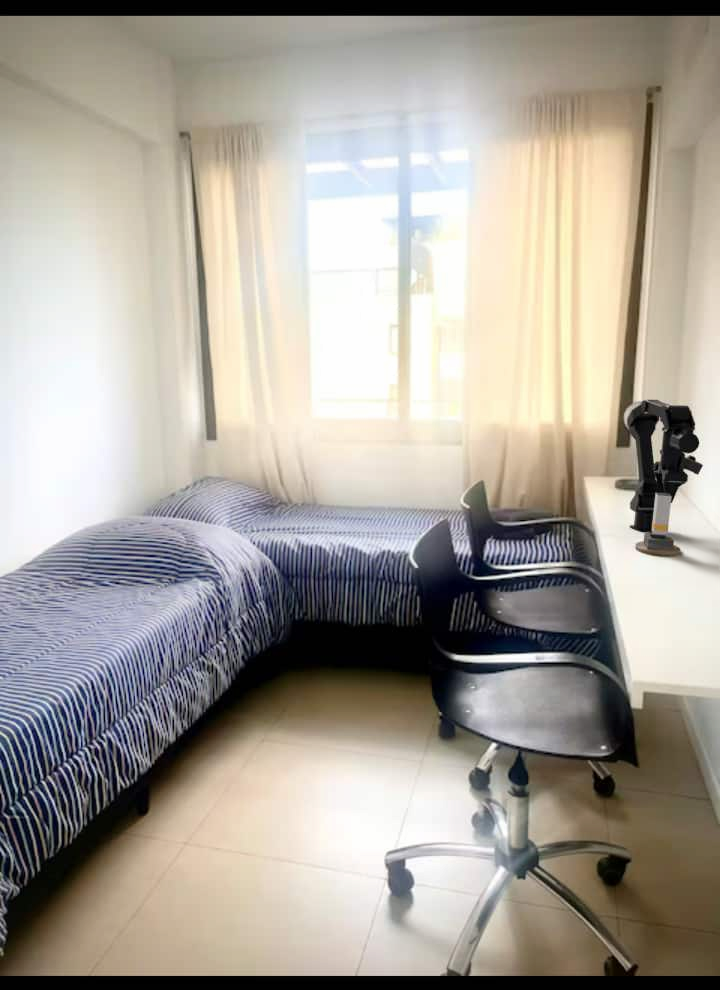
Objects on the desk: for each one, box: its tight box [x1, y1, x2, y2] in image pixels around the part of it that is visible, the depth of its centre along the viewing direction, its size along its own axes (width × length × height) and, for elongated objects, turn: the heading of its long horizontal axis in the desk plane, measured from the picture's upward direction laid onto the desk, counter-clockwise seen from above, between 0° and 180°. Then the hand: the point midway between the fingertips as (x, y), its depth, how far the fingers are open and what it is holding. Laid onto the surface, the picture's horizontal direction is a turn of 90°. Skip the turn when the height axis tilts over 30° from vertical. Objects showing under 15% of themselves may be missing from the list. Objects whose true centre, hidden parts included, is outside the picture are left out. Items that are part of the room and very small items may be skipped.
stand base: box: [635, 532, 681, 557], centre depth 200 cm, size 12×12×4 cm
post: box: [651, 493, 672, 535], centre depth 198 cm, size 4×4×11 cm
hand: (666, 499), depth 206 cm, fingers open, 9 cm apart
